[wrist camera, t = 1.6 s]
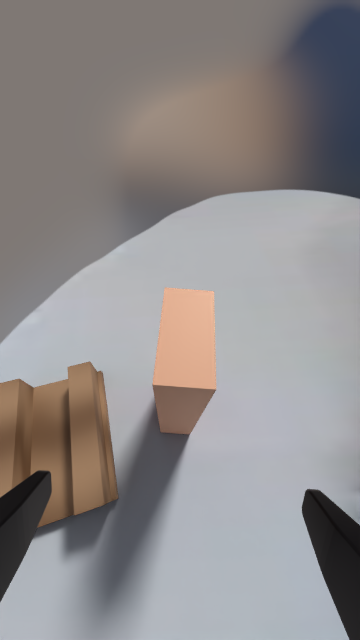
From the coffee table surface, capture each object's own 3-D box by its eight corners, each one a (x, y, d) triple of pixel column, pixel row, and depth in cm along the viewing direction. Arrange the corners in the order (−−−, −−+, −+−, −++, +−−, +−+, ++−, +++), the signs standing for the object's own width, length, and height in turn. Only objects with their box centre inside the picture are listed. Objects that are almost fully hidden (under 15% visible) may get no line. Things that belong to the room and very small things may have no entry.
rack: (118, 498, 18) (109, 503, 15) (0, 540, 16) (-34, 554, 13) (103, 373, 23) (94, 360, 20) (12, 396, 21) (-11, 385, 18)
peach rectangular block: (189, 434, 20) (216, 389, 9) (160, 432, 20) (152, 384, 9) (191, 377, 23) (213, 291, 12) (166, 375, 23) (164, 287, 12)
